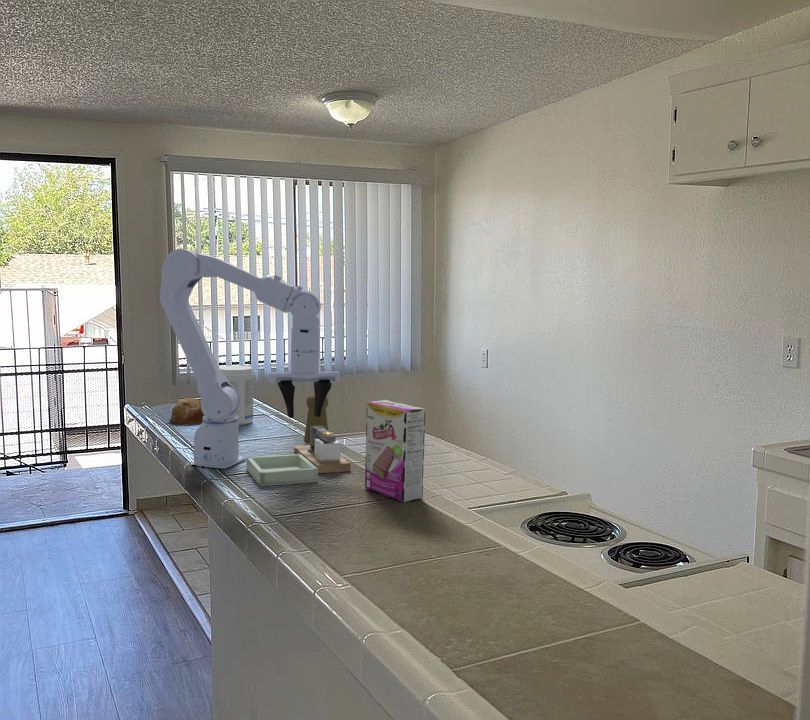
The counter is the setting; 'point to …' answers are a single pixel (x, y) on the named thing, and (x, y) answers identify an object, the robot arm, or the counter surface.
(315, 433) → the lever
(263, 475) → the tray
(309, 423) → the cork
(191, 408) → the bread roll
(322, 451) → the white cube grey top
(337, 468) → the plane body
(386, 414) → the candy bar box
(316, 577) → the counter surface
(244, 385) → the supplement tub
